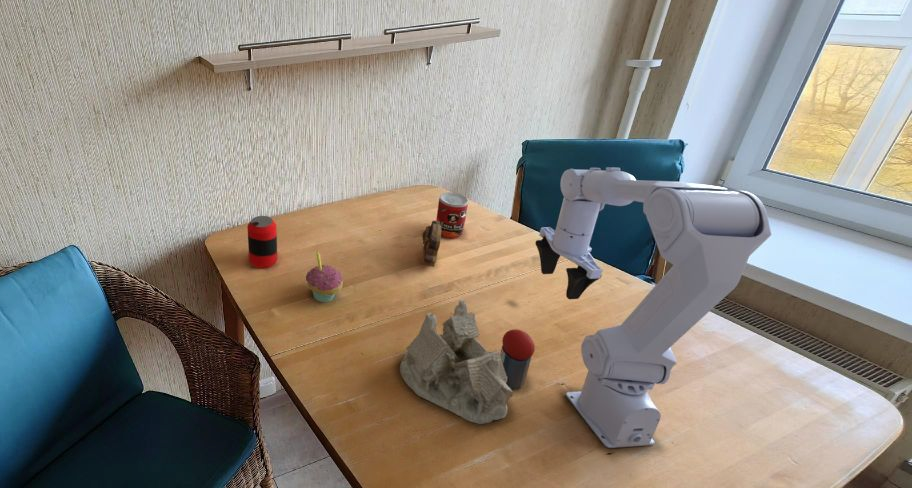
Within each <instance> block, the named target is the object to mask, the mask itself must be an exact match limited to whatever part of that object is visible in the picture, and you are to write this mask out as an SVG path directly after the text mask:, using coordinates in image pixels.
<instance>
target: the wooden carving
mask: <svg viewBox="0 0 912 488" xmlns="http://www.w3.org/2000/svg"><path fill="white" fill-rule="evenodd" d="M441 237H442V236H441V225H440V222H439V221H436V220H432V222H431V223H430V225H428V226H426V227H425V229H424V231H423V232H422V234H421V238H422V246H423V247H422V251H421V263H422V264H424V265H427V266H430V267H433V268H435V264H436V263H437V260H438V253H439V249H440V245H441Z"/></svg>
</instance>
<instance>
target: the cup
mask: <svg viewBox="0 0 912 488" xmlns="http://www.w3.org/2000/svg"><path fill="white" fill-rule="evenodd" d="M499 354H500V356H501V360H502V364H503V367H504V370H505V373H506V376H507V377H508V378H507V382H506V384H507V386H508V387H509V388H510V389H514V390H518V389H522V388H524V386H525V383H526V380H527V377H528V371H529V368H530V364H531V360H532V356H531V357H530V358H529V359H526V360H517V359H514V358H513V357H511V356H510V355H508V354H507V352H506V351H505V349H504V347H503V344H502V346H501V349H500V352H499Z"/></svg>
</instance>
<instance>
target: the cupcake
mask: <svg viewBox="0 0 912 488" xmlns="http://www.w3.org/2000/svg"><path fill="white" fill-rule="evenodd" d="M316 259H317V266H314V267H313V268H311V269H309V271H307V272H306V273H307V274H306V275H305V281H306V285H307V287H308V289H310V290H311V292H312V294H313V297H314V299H315V300H317V301H318V302H321V303H328V302H329V303H330V302H331V301H333V300H334V298H335V295H336V293H338V292H340V291H341V290H342V288H343V285H344V279H343V275H342V273H341V272H340V271H339V270H338V269H336V268H335V267H332V266H331V265H325V264H322V262H321V261H322V260H321V253H320V252H319V250H316Z"/></svg>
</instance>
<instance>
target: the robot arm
mask: <svg viewBox="0 0 912 488" xmlns="http://www.w3.org/2000/svg"><path fill="white" fill-rule="evenodd" d="M560 191H561V194H562V196H563V199H562V202H561V203H562V204H561V206H560V212H559V215H558V219H557V223H556V227H555V229H553V228H552V227H551V226H547V227H544V226H543V227H541V228H540V230H539V234H538V236H540V237H541V239H537V240H535V246H536V250H537V252H538V255H539V260H540V272H541V274H542V275H553V274H554V272H555V270H556V268H557V265H558V262H559V259H560V257H563V258H565V259H567V260H568V261H570V262H572V263H573V264H576V265H577V267H566V269H565V271H566V274H567V287H566V292H565V296H566V298H567V300H579V299H580V297H581V296H582V294H583V293H584V292H585V291H586V290H587V289H588V288H589V287H590V286H591V285H592V284H594V283H595V282H596V281H598V280H600V279H602V276H603V275H602V274H603V271H604V269H603V268H601V267H600V266H599V265H598V263H597V262H596V260H595V259H594V257H593V256H592V254H591V252H592V249H593V248H592V247H591V246H590V243H591V240H592V238H593V233H594V230H595V227H596V223H597V219H598V216H599V212H601V211H603V210H604V209H605V205H609V206H616V207H623V206H627V205H630V204H632V203H633V202H638V203H643V204H642V206H643V207H642V208H643V209H642V210H643V214H644V215H645V216H646V220H647V223H648V224H649V228H650V231H651V233H652V236H653V238H654V241H655V244H656V246H657V249H658V252H659V255H660V257H661V259H663V260H664V261H666V262H668V263H670V265H672V266H671V267H670V268H669V270H667V272H666V273H665V274H664V275H663V276H662V277H661V279H660V280H658V282H657V283H656V284H655V285H654V287H652V289H651V290H650V291H649V292H648V294H646V296H645V297H644V298H643V299H641V301H640V302H639V304H638V305H637V306H636V307H635V308H634V310H632V311H631V313H630V314H628V316H627V317H626V318H625V320H624V321H622V323H621V324H619V325H615V326H610V327H605V328H602V329H598V330H597V331H596V332H595V333H594V334H587V335H586V336H584V338H583V340H582V342H581V347H580V353H581V359H582V361H583V365H584V366H585V368H586V369H587V370H588V371H587V373H586V376H585V379H584V383H583V385H582V388H581V390H579V391H567V392H566V393H565V396H566V398H567V399H568V400H569V402H570V403H571V404H572V405H573V407H574V408H575V409H576V411H577V412H578V413H579V414H580V416H581V417H582V418H583V420H584V421H585V422H586V424H587V425H588V426H589V427H590V428H591V430H592V431H593V432H594V434H595V435H596V437H597V438H598V439H599V441H600V442H601V443H602V444H603V445H604V447H606V448H608V449H615V448H626V447H627V448H629V447H640V446H642V447H643V446H653V445H655V442H656V441H655V440H654V439H653V437H654V435H655V432H656V430H657V428H658V425H659V424H660V421H661V417H662V415H661V412H660V411H659V409H658V408H657V406H656V405H655V404H654V402H653V401H652V400H651V397H650V395H649V392H648V391H651V390H652V391H653V389H654V386H655V385H664V384H666V383H668V381H669V379H670V376H671V373H672V369H673V367H674V366H676V365H677V363H678V362H677V360H676V356H675V353H674V351H673V350H672V348H671V347H673V345H675V343H677V342H678V341H679V340H680V339H681V338H682V337H683V336H684V335H686V334H687V333H688V332H689V331H690V330H691V329H692V328H694V326H695V325H697V323H699V322H700V321H701V320H702V319H703V318H705V316H706V315H707V314H708V313H710V312H711V311H712V310H713V309H714V307H716V306H717V305H718V304H719V303H720V302H721V301H723V300H724V298H726V297H728V295H729V294H730V293H731V292H732V291H733V290H735V288H736V287H737V286H738V284H739V282H740V280H741V278H742V276H743V273H744V270H745V268H746V265H747V263H748V261H749V258H750V256H751V255H752V254H753V253H755V251H757V250H758V248H760V247H761V246H762V245H763V244H764V243H765V242H766V241H767V240H768V239H769V238H770V237H771V236H772V231H771V225H770V221H769V217H768V211H767V209H766V207H765V205H764V203H763V202H762V201H761V199H760V198H759V197H757V196H756V194H755V195H754V194H753V193H751V192H749V191H745V190H731V191H728V188H726V187H721V186H717V185H711V184H710V185H709V184H703V183H695V182H687V181H672V180H671V181H669V180H641V179H640V180H639V179H636V178H635V176H634V175H632V174H630V173H628V172H626V171H621V168H620V167H613V166H612V167H609V166H607V167H605V170H601V168H600V167H590V168H589V169H574V168H569V169H566V170H564V172H562V175H561V178H560Z"/></svg>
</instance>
